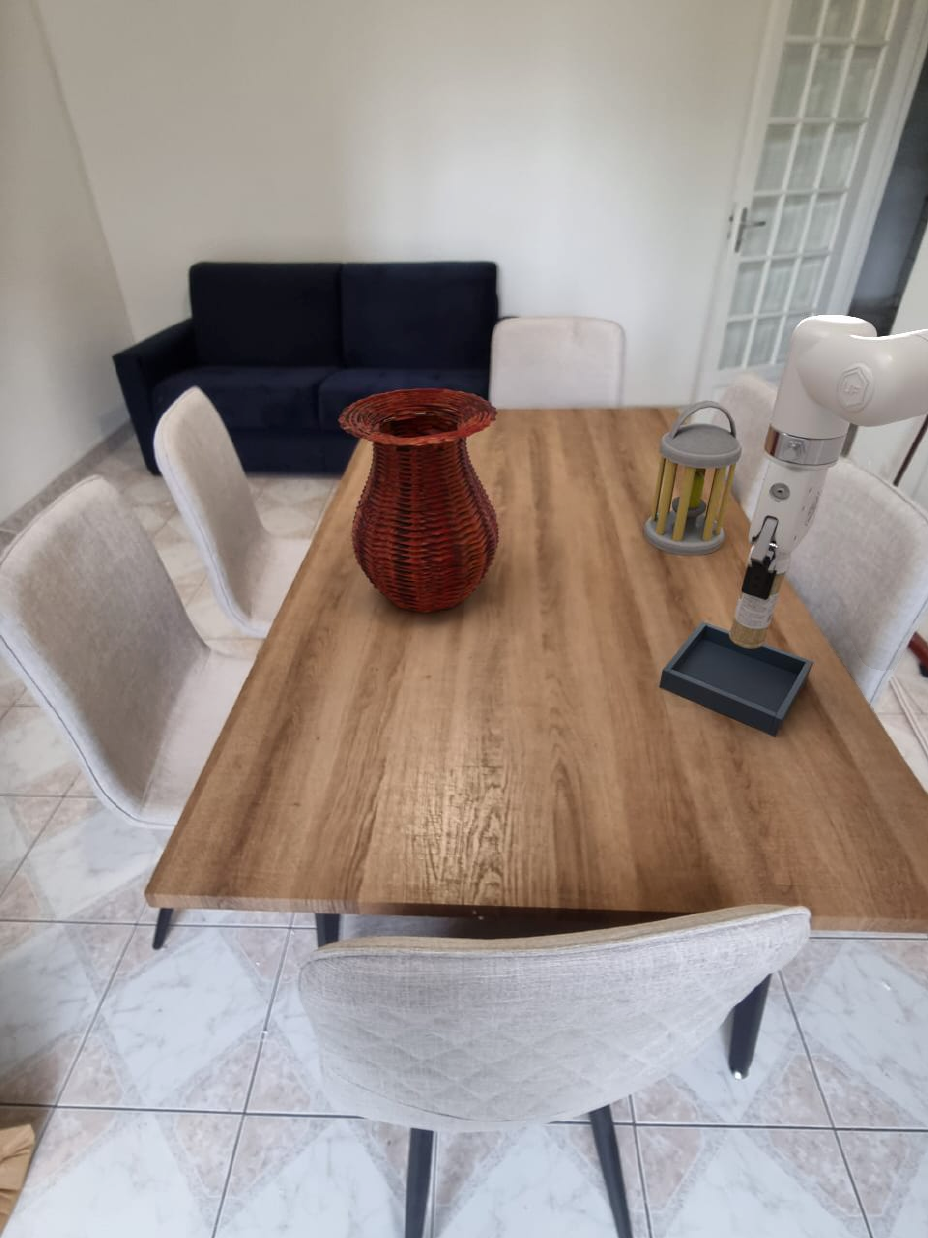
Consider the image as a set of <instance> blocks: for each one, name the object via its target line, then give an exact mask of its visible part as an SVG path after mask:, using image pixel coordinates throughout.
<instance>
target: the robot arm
mask: <svg viewBox="0 0 928 1238" xmlns="http://www.w3.org/2000/svg"><path fill="white" fill-rule="evenodd" d="M786 353H787V354H786V359H785V361H784V364H783V365H784V366H783V370H782V374H781V376H780V377H781V378H780V382H779V385H778V389H777V393H776V397H775V401H774V405H773V409H772V412H771V416H770V421H769V425H768V429H767V432H766V437H765V441H764V445H763V448H762V449H763V450H762V455H763V456H764V457H765V458H766V459H767V460H769V462H768V465H767V468H766V471H765V474H764V476H763V479H762V480H763V481H762V484H761V487H760V491H759V493H758V497H757V501H756V504H755V507H754V511H753V514H752V519H751V521H750V527H749V532H748V536H747V540H748V542H749V543H750V545H753V546H754V545H755V546H754V549H753V552H752V555H751V558H750V561H749V563H748V562H747V566H746V569H745V573H744V578H743V582H742V584H741V589H740V590H741V591H742V592H743V593H746V594H749V595H752V596H755V597H758V598H761V599H764V600H767V599H768V598H769V596H770V593H771V590H772V586H773V583H774V580H775V576H776V573H777V570H775V567H776V564H777V561H778V558H779V555H780V553H781V552H783V553H784V554H785V555H787V554H790V553H791V554H792V553H794V551H795V550H796V549H797V548H798V546H799V545H800V544H801V542H802V541H803V540H804V539H805V537H806V536H807V534H808V532H809V531H810V530H811V528H812V527H813V524H814V521H815V520H816V519H815V518H816V515H817V512H818V508H819V504H820V500H821V497H822V493H823V489H824V485H825V483H826V480H827V479H826V478H827V476H828V475H827V474H828V472H829V471H828V470H829V469H830V468H833V467H835V466H836V465H837V464H838V462H839V459H840V456H841V452H842V450H843V446H844V443H845V440H846V438H847V435H848V430H849V428H850V425H851V424H852V425H855V426H859V427H863V428H865V427H866V428H871V427H873V428H874V427H881V426H886V425H889V424H894V423H897V422H901V421H906V420H908V419H911V418H916V417H920V416H924V415H927V414H928V328H925V329H919V330H915V331H910V332H904V333H899V334H895V335H894V334H893V335H885V336H878V332H877V329H876V327H875V326H874V325H873V324H872V323H870V322H869V321H866V320H864V319H861V318H858V317H852V316H846V315H834V314H833V315H828V314H827V315H826V314H825V315H817V316H811V317H807V318H805V319H804V320H802V321H800V323H799V324H797V325H796V326H795V329H794V330H793V332H792V335H791V339H790V342H789V345H788V350H787V352H786ZM771 543H774V544H771ZM775 544H777V545H775ZM768 550H769V551H772V552H774V553H773V556H772V559H771V560H770V557H769V556H767V552H768ZM741 591H740V592H741Z"/></svg>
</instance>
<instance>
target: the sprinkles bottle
mask: <svg viewBox="0 0 928 1238" xmlns="http://www.w3.org/2000/svg"><path fill="white" fill-rule="evenodd" d="M771 544H774V543H771ZM775 545H777V544H775ZM754 546H755V544H753V546H752V547H751V548H750V551H749V555H748V559H747V564H748V563H749V561H750V558H751V555H752V552H753V549H754ZM773 553H774V552H772V551H769V550H768V552H767V556H769V557H770V560H771V559H772V556H773ZM791 561H792V553H790V554H787V555H785V554H784V553H783V552H781V553H780V555H779V558H778V561H777V564H776V567H775V570H777V573H776V576H775V580H774V583H773V586H772V590H771V593H770V596H769V598H768V599H767V600H764V599H761V598H758V597H755V596H752V595H749V594H746V593H743V592H742V591H740V594H739V596H738V599H737V603H736V606H735V610H734V614H733V615H734V616H733V620H732V624H731V627H730V629H729V630H728V631H729V637H730V639H731V641H732V642H734V643H735V644H737V645H739V646H741V647H744V648H758V647H761V646H762V645H763V644H766V643H765V642H766V636H767V632H768V629H769V627H770V625H771V622H772V619H773V616H774V612H775V609H776V606H777V603H778V599H779V596H780V593H781V588H782V585H783V581H784V578H785V574H786V573H787V572H788V570H789V568H790V563H791Z"/></svg>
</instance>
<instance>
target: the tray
mask: <svg viewBox="0 0 928 1238" xmlns="http://www.w3.org/2000/svg"><path fill="white" fill-rule="evenodd" d="M729 631H730V630H729V629H725V628H722V627H720V626H717V625H714V624H712V623H710V622H706V621H704V620H702V621H701V622H700V623H699V624H698V626H697V627H696V628H695V629H694V631H693V632H692V633H691V634H690V635H689V637H688V638H687V639H686V640H685V642H684V643H683V644H682V646H681V647H680V648H679V649H678V650H677V652H675V654H674V656H672V658H671V659H670V660H669V661H668V663H667V664H666V665H665V666H664V668H663V669H662V672H661V677H660V681H659V688H661V689H663V690H666V691H668V692H670V693H673V694H675V695H677V696H679V697H682V698H685V700H686V699H687V700H689V701H691V702H694V703H695V704H698V705H701V706H703V707H705V708H708V709H709V710H711V711H714V712H717V713H719V714H721V715H724V716H726V717H728V718H730V719H733V720H735V721H738V722H740V723H743V724H744V725H747V726H750V727H752V728H754V729H756V730H758V731H761V732H763V733H766V734H767V735H770V736H772V737H777V735H778V733H779V732H780V729H781V728H782V726H783V724H784V723H785V720H786V718H787V717H788V715H789V713H790V711H791V710H792V708H793V706H794V705H795V702H796V700H797V698H798V697H799V695H800V693H801V691H802V689H803V688H804V686H805V684H806V682H807V681H808V678H809V676H810V673H811V670H812V668H813V665H814V661H813V660H809V659H807V658H805V657H802V656H799V655H797V654H794V653H791V652H788V651H786V650H783V649H780V648H777V647H774V646H772V645H769V644H767V643H764V644H763V645H762V646H761V647H758V648H744V647H741V646H739V645H737V644H735V643H734V642H732V641H731V639H730V637H729Z"/></svg>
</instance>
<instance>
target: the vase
mask: <svg viewBox="0 0 928 1238" xmlns="http://www.w3.org/2000/svg"><path fill="white" fill-rule="evenodd" d="M492 404H493V403H492V402H491V401H488V400H486V399H484V397H482V396H478V395H476V394H475V393H471V392H464V391H462V390H452V389H447V388H432V387H431V388H412V389H396V390H393V391H387V392H383V393H375V394H372V395H369V396H367V397H365V398H362V399H357V401H355V402H351V404H350V405H349V406H347V407H345V408H343V409H342V413H341V414H340V415H339V418H338V419H337V421H338V422H339V423H340V426H339V428H340V429H342V430H345V432H346V433H347V434H349V435H352V436H353V437H354V438H358V439H362V440H366V441H368V442H371V443H372V444H371V446H372V452H373V453H372V459H371V460H372V462H371V464H370V469H369V472H368V475H367V480H366V481H365V485H364V486H363V489H362V491H361V492H362V494H360V495H359V497H360V499H359V500H358V501H357V504H358V505H357V506H356V507H355V509H356V511H355V512H354V516H353V520H352V527H351V529H350V530H351V532H350V537H351V540H350V542H351V543H352V544H351V545H352V547H351V549H352V550H353V551H352V553H353V555H354V558H355V560H356V561H357V564H358V565H359V566H360V569H361V571H362V572H363V573H364V575H365V576H366V578H367V579H368V580H369V582H370V584H372V585H373V588H374V589H375V590H378V591H379V593H380V594H381V595H382V596H385V597H386V599H387V600H389V601H391V603H393V604H395V606H396V607H398V608H401V609H406V610H411V611H415V612H419V613H430V612H435V611H440V610H447V609H453V608H454V607H456V606H457V605H458V604H460V603H461V602H464V601H465V600H466V599H467V598H468V597H469V596H471V594H472V593H473V592H474V591H475V590H477V586H479V585H480V584H481V583H482V582H483V579H484V578H486V577H487V574H488V572H490V566H492V565H493V564H494V560H495V555H496V553H497V548H498V547H499V546H498V543H499V541H500V540H499V538H500V536H499V534H500V532H499V530H500V528H499V523H498V521H497V520H498V518H497V513H496V509H495V508H494V505H493V504H492V500H490V498H489V497H490V495H489V494H487V490H486V488H484V484H482V480H481V479H479V478H480V476H479V475H477V471H475V469H476V468H475V467H474V465H473V464H472V459H470V455H469V451H468V447H467V439H468V437H469V438H470V437H471V436H472V435H474V434H476V433H481V432H483V431H484V430H485V429H487V428H489V427H491V425H492V423H494V422H495V421H496V420H497V419H496V416H497V414H499V413H498V411H497V407H495V406H494V405H492Z"/></svg>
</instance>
